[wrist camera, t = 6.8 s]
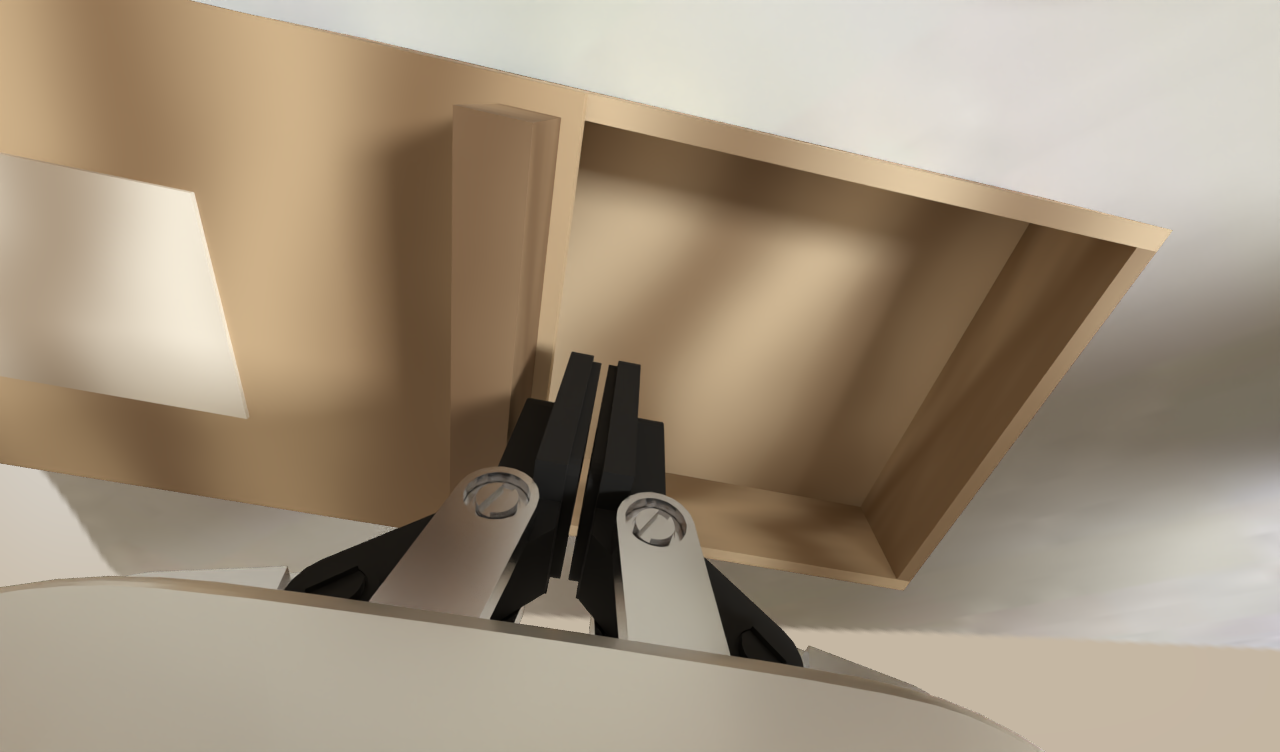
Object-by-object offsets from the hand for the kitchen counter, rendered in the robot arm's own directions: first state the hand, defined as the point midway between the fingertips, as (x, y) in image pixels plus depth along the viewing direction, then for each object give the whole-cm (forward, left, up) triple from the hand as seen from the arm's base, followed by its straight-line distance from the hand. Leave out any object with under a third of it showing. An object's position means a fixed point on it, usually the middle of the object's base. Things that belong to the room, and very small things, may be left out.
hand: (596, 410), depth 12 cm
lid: (+11, 0, -1) cm, 11 cm away
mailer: (-2, 0, -6) cm, 6 cm away
